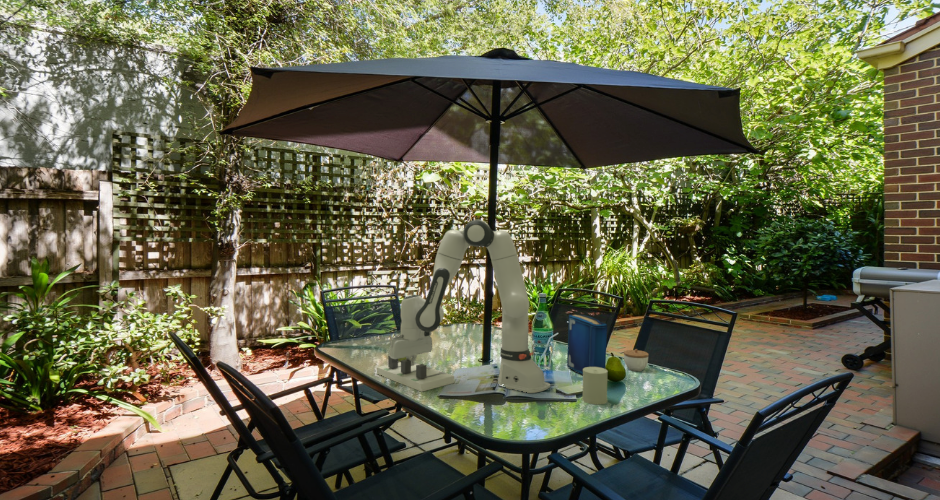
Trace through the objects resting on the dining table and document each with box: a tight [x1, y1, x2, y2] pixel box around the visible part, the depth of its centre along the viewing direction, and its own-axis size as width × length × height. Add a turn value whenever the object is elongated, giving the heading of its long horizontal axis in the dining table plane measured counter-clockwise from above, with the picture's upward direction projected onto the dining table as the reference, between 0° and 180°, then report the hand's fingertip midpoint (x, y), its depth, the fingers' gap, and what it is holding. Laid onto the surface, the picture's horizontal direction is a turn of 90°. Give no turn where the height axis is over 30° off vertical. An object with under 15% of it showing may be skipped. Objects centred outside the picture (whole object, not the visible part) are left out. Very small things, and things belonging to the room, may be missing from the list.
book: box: [566, 314, 608, 376], centre depth 226 cm, size 22×7×25 cm, turn 22°
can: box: [581, 367, 609, 405], centre depth 192 cm, size 9×9×12 cm
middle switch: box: [400, 359, 411, 374], centre depth 215 cm, size 3×3×5 cm
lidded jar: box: [623, 348, 649, 372], centre depth 234 cm, size 11×11×9 cm
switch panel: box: [376, 361, 455, 393], centre depth 218 cm, size 32×17×3 cm, turn 43°
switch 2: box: [416, 363, 428, 379], centre depth 208 cm, size 3×3×5 cm
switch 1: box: [387, 355, 399, 369], centre depth 222 cm, size 3×3×5 cm
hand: (411, 365), depth 217 cm, fingers closed
